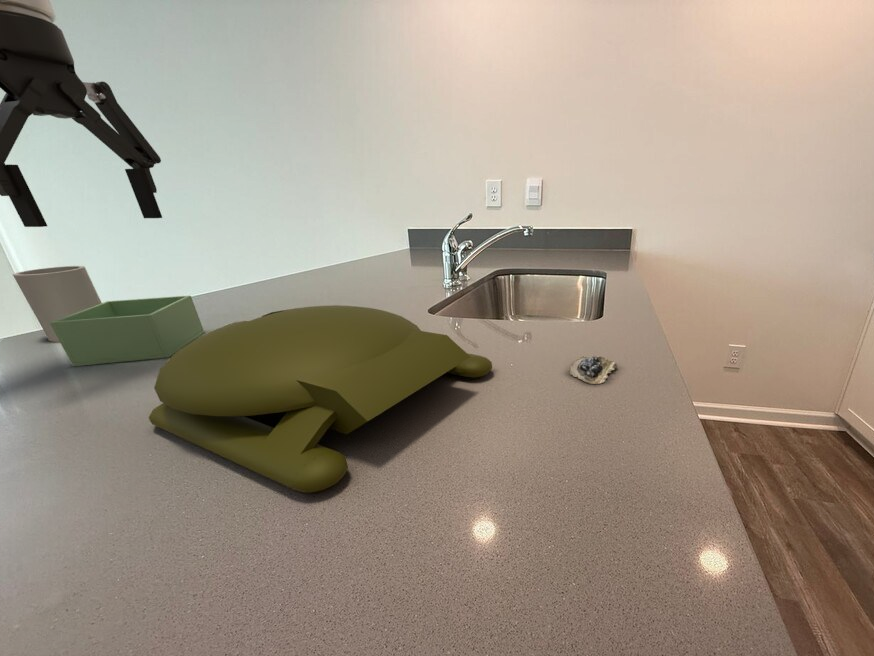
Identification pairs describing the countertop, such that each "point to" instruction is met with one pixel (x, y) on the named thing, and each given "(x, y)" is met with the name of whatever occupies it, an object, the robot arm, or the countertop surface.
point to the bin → (128, 330)
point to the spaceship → (299, 385)
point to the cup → (57, 293)
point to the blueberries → (592, 369)
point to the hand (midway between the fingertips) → (101, 222)
